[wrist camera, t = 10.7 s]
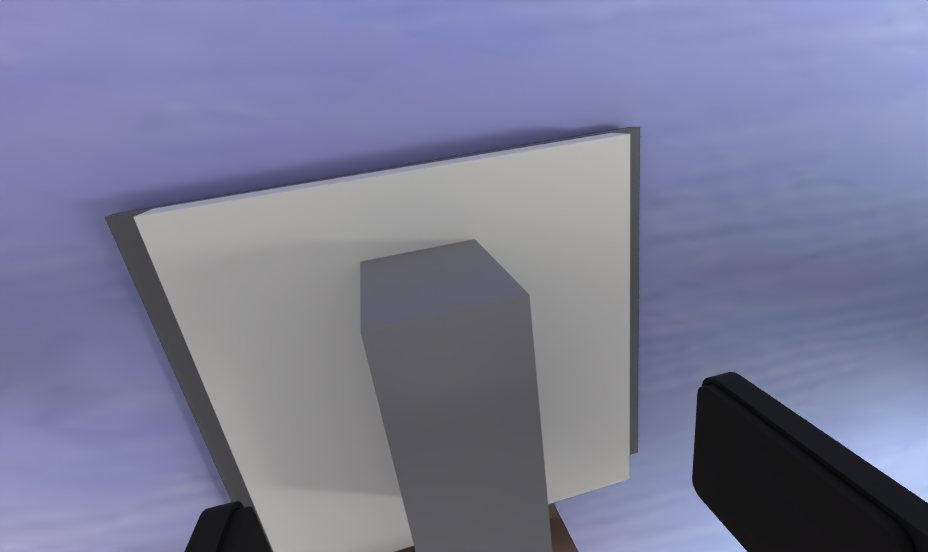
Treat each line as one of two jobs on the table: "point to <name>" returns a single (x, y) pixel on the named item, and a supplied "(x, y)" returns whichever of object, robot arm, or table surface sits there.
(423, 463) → the lid
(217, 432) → the mat
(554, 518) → the box
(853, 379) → the table surface
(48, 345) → the table surface
